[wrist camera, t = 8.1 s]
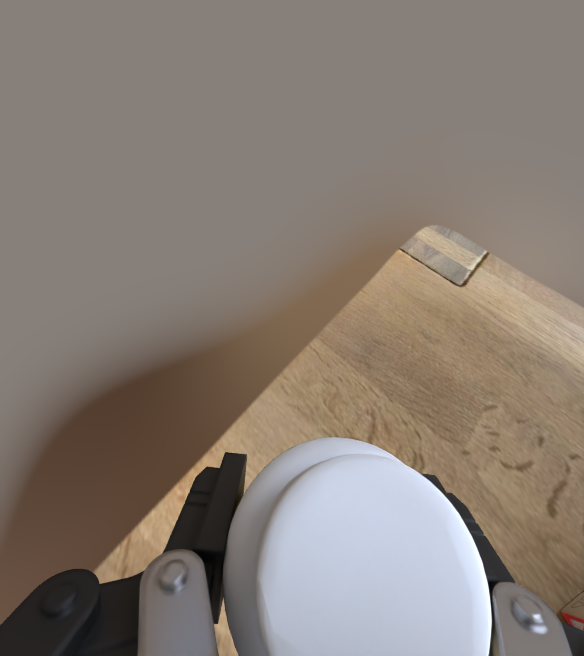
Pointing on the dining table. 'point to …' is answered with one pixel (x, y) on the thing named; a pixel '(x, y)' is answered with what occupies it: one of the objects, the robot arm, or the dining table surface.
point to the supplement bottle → (351, 560)
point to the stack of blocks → (575, 612)
